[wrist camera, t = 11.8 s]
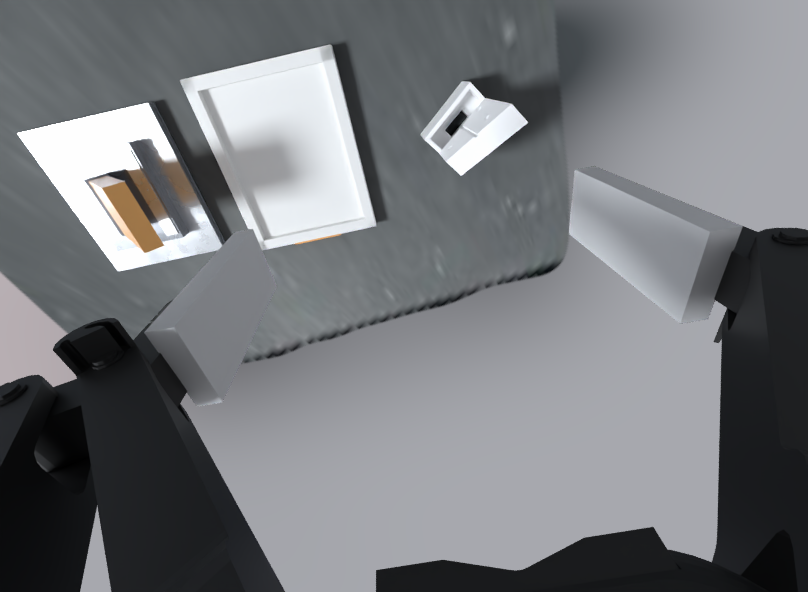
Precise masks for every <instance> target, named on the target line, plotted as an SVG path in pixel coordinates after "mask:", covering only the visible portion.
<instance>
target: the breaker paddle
mask: <svg viewBox="0 0 808 592" xmlns="http://www.w3.org/2000/svg"><path fill="white" fill-rule="evenodd" d="M84 181H85V183H86V184H87V186H88V187H89V189H90V190H91V192H92V193H93V195H94V196H95V198H96V199H97V201H98V202H99V203H100V205H101V206H102V208H103V209H104V211H105V212H106V214H107V215H108V217H109V218H110V220H111V221H112V223H113V224H114V225H115V227H116V228H117V230H118V231H119V233H120V234H121V236H126V237H127V238H128V239H129V240H131V241H132V242H133V243H134V244H135V245H136V246H137V247H138V248H139V249H140V250H142V251H143V252H144V253H147V252H150V251H152V250H155V249H157V248H160V247H162V246H164V244H163V243H162V241H161V239H160V238H159V236H158V235H157V233H156V231H155V230H154V228H153V227H152V225H151V223H150V222H149V220H148V218H147V217H146V215H145V214H144V212H143V210H142V209H141V207H140V206H139V204H138V202H137V201H136V199H135V197H134V196H133V194H132V193H131V191H130V189H129V188H128V186H127V185H126V183H125V181H122V180H119V179H116V178H113V177H109V175H108V174H107V173H106V174H101V175H97V176H94V177H90V178H87V179H85V180H84Z"/></svg>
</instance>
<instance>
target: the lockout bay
mask: <svg viewBox="0 0 808 592" xmlns="http://www.w3.org/2000/svg"><path fill="white" fill-rule="evenodd" d="M180 82H181V85H182V87H183V89H184V91H185V93H186V95H187V98H188V100H189V102H190V104H191V106H192V108H193V110H194V113H195V115H196V117H197V119H198V121H199V123H200V126H201V128H202V130H203V132H204V134H205V136H206V139H207V141H208V143H209V145H210V147H211V149H212V151H213V154H214V156H215V158H216V160H217V162H218V164H219V167H220V169H221V171H222V173H223V175H224V177H225V180H226V182H227V184H228V186H229V188H230V190H231V192H232V195H233V197H234V199H235V201H236V203H237V205H238V208H239V210H240V212H241V214H242V216H243V218H244V221H245V223H246V225H247V227H248V229H253V230H254V232H255V235H256V237H257V240H258V242H259V244H260V247H261V249H262V250H266V249H271V248H276V247H281V246H285V245H290V244H295V245H296V244H301V243H305V242H310V241H315V240H319V239H324V238H329V237H334V236H338V235H341V234H342V233H346V232H351V231H356V230H360V229H365V228H370V227H374V226H376V219H375V215H374V211H373V207H372V203H371V199H370V195H369V191H368V187H367V183H366V179H365V175H364V171H363V167H362V163H361V159H360V155H359V151H358V147H357V143H356V139H355V135H354V131H353V127H352V123H351V118H350V114H349V110H348V106H347V102H346V98H345V94H344V90H343V86H342V82H341V78H340V74H339V70H338V66H337V62H336V58H335V54H334V50H333V46H332V45H331V44H330V45H326V46H322V47H318V48H313V49H309V50H305V51H301V52H296V53H292V54H288V55H284V56H280V57H275V58H271V59H267V60H263V61H258V62H254V63H250V64H246V65H242V66H237V67H233V68H229V69H225V70H220V71H216V72H212V73H208V74H203V75H199V76H195V77H191V78H187V79H182V80H180Z"/></svg>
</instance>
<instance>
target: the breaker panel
mask: <svg viewBox="0 0 808 592" xmlns="http://www.w3.org/2000/svg"><path fill="white" fill-rule="evenodd" d="M17 134H18V135H19V136H20V138H21V139H22V140H23V142H24V143H25V145H26V146H27V147H28V149H29V150H30V151H31V153H32V154H33V156H34V157H35V158H36V160H37V161H38V162H39V164H40V165H41V166H42V168H43V169H44V171H45V172H46V173H47V175H48V176H49V177H50V179H51V180H52V182H53V183H54V184H55V186H56V187H57V188H58V190H59V191H60V193H61V194H62V195H63V197H64V198H65V199H66V201H67V202H68V203H69V205H70V206H71V208H72V209H73V210H74V212H75V213H76V214H77V216H78V217H79V219H80V220H81V221H82V223H83V224H84V225H85V227H86V228H87V230H88V231H89V232H90V234H91V235H92V236H93V238H94V239H95V240H96V242H97V243H98V245H99V246H100V247H101V249H102V250H103V251H104V253H105V254H106V256H107V257H108V258H109V260H110V261H111V262H112V264H113V265H114V267H115V268H116V269H117V271H122V270H127V269H132V268H136V267H141V266H146V265H150V264H155V263H160V262H164V261H169V260H174V259H178V258H183V257H188V256H192V255H197V254H202V253H206V252H211V251H216V250H219V249H220V248H221V247H222V246H223V244H224V243H225V240H224V238H223V236H222V234H221V232H220V230H219V228H218V226H217V224H216V222H215V220H214V218H213V216H212V214H211V212H210V210H209V208H208V206H207V204H206V203H205V201H204V199H203V197H202V195H201V193H200V191H199V189H198V187H197V185H196V183H195V181H194V179H193V177H192V175H191V173H190V171H189V169H188V167H187V165H186V163H185V161H184V160H183V158H182V156H181V154H180V152H179V150H178V148H177V146H176V144H175V142H174V140H173V138H172V136H171V134H170V132H169V130H168V128H167V126H166V124H165V122H164V120H163V118H162V117H161V115H160V113H159V111H158V109H157V107H156V105H155V103H154V102H150V103H145V104H141V105H136V106H132V107H128V108H123V109H119V110H115V111H111V112H106V113H102V114H98V115H94V116H89V117H85V118H81V119H77V120H72V121H68V122H64V123H60V124H55V125H51V126H47V127H43V128H38V129H34V130H30V131H25V132H21V133H17ZM106 173H107V174H108V175H109V177H113V178H116V179H119V180H122V181H125V183H126V185H127V186H128V188H129V189H130V191H131V193H132V194H133V196H134V197H135V199H136V201H137V202H138V204H139V206H140V207H141V209H142V210H143V212H144V214H145V215H146V217H147V218H148V220H149V222H150V223H151V225H152V227H153V228H154V230H155V231H156V233H157V235H158V236H159V238H160V239H161V241H162V243H163V244H164V246H162V247H160V248H157V249H155V250H152V251H150V252H147V253H144V252H143V251H142V250H140V249H139V248H138V247H137V246H136V245H135V244H134V243H133V242H132V241H131V240H129V239H128V238H127V237H126V236H121V234H120V233H119V231H118V230H117V228H116V227H115V225H114V224H113V223H112V221H111V220H110V218H109V217H108V215H107V214H106V212H105V211H104V209H103V208H102V206H101V205H100V203H99V202H98V201H97V199H96V198H95V196H94V195H93V193H92V192H91V190H90V189H89V187H88V186H87V184H86V183H85V181H84V180H85V179H87V178H90V177H94V176H97V175H101V174H106Z"/></svg>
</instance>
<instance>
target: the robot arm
mask: <svg viewBox="0 0 808 592" xmlns="http://www.w3.org/2000/svg"><path fill="white" fill-rule="evenodd" d="M569 234H570V235H571V236H572V237H573V238H575V239H576V240H577V241H578V242H580V243H581V244H582V245H583V246H584V247H586V248H587V249H588V250H589V251H591V252H592V253H593V254H594V255H596V256H597V257H598V258H599V259H601V260H602V261H603V262H604V263H606V264H607V265H608V266H609V267H611V268H612V269H613V270H614V271H616V272H617V273H618V274H619V275H620V276H622V277H623V278H624V279H625V280H627V281H628V282H629V283H630V284H632V285H633V286H634V287H635V288H636V289H638V290H639V291H640V292H641V293H643V294H644V295H645V296H646V297H648V298H649V299H650V300H651V301H653V302H654V303H655V304H656V305H658V306H659V307H660V308H661V309H662V310H664V311H665V312H666V313H667V314H669V315H670V316H671V317H672V318H674V319H675V320H676V321H677V322H679V323H680V324H683V323H688V322H694V321H700V320H706V319H708V318H709V315H710V312H711V310H712V307H713V304H714V302H715V300H716V301H718V302H719V303H721V304H722V305H724V306H726V307H727V310H726V312H725V315H724V318H723V320H722V322H721V325H720V327H719V330H718V332H717V335H716V337H715V340H714V342H716V343H719V342H720V340H721V339H722V354H721V356H722V357H721V358H722V359H721V397H720V441H719V483H718V526H717V527H718V528H717V544H716V549H715V553H714V557H713V561H712V562H709V561H706V560H704V559H701V558H698V557H696V556H693V555H689V554H685V553H681V552H677V551H673V550H667V548H666V547H665V545H664V544H663V542H662V541H661V539H660V537H659V536H658V534H657V533H656V531H655V529H654V527H650V528H644V529H637V530H631V531H625V532H618V533H612V534H606V535H599V536H592V537H586V538H583V539H581V540H579V541H577V542H575V543H574V544H572V545H570V546H568V547H566V548H564V549H562V550H560V551H558V552H556V553H554V554H552V555H551V556H549V557H547V558H545V559H543V560H541V561H539V562H537V563H535V564H533V565H532V566H530V567H528V568H526V569H523V570H517V571H514V570H506V569H500V568H493V567H487V566H480V565H473V564H467V563H460V562H454V561H447V560H439V561H432V562H426V563H419V564H413V565H407V566H401V567H394V568H388V569H381V570H376V592H808V230H805V229H799V228H772V229H765V230H763V231H760V232H756V231H754V230H751V229H749V228H746V227H744V226H741V225H739V224H736V223H734V222H731V221H728V220H726V219H724V218H721V217H719V216H717V215H714V214H712V213H709V212H707V211H704V210H702V209H699V208H697V207H694V206H692V205H689V204H686V203H684V202H682V201H679V200H677V199H675V198H672V197H670V196H667V195H665V194H662V193H660V192H657V191H655V190H652V189H650V188H647V187H645V186H643V185H640V184H638V183H635V182H632V181H630V180H628V179H625V178H623V177H620V176H618V175H615V174H613V173H610V172H608V171H606V170H603V169H600V168H598V167H596V166H591V167H586V168H580V169H576V170H575V174H574V185H573V195H572V206H571V216H570V227H569ZM276 287H277V285H276V283H275V280H274V278H273V276H272V273H271V271H270V268H269V266H268V264H267V261H266V259H265V256H264V254H263V252H262V249H261V247H260V244H259V242H258V240H257V237H256V235H255V232H254V230H253V229H249V230H243V231H238V232H234V233H233V234H232V236H231V237H230V238H229V239H228V240H227V241H226V242H225V243H224V244H223V246H222V247H221V248H220V249H219V250H218V251H217V252H216V253H215V254H214V255H213V257H212V258H211V259H210V260H209V261H208V262H207V263H206V264H205V265H204V267H203V268H202V269H201V270H200V271H199V272H198V273H197V274H196V275H195V277H194V278H193V279H192V280H191V281H190V282H189V283H188V284H187V285H186V286H185V288H184V289H183V290H182V291H181V292H180V293H179V294H178V295H177V296H176V298H175V299H173V300H172V301H170V302H169V303H167V304H166V305H165V306H164V307H163V309H162V310H161V311H160V312H159V313H158V315H156V316H155V317H154V318H153V319H152V321H151V323H149V324H148V325H147V326H146V327H145V328H144V329H143V330H142V331H141V333H140V334H139V335H138V336H137V337H136V338H135V339H134V340H132V338H131V337H130V336H129V334H128V333H127V332H126V330H125V329H124V328H123V326H122V325H121V324H120V322H119V321H118V320H116V319H115V318H106V319H101V320H97V321H94V322H91V323H89V324H86V325H84V326H82V327H80V328H78V329H76V330H74V331H72V332H70V333H69V334H67V335H66V336H64V337H63V338H62V339H60V340H59V341H58V342H57V343H56V344H55V346H54V348H53V351H54V352H55V353H56V354H57V355H58V356H59V357H60V358H61V359H62V361H63V362H64V363H65V364H66V365H67V366H68V367H69V368H70V369H71V370H72V371H73V372H74V374H75V375H76V376H77V379H75V380H73V381H70V382H67V383H64V384H61V385H59V386H56V387H52V386H51V385H50V384H49V383H48V382H47V381H46V380H45V379H44V378H43V377H42V376H40V375H31V376H27V377H24V378H21V379H18V380H15V381H13V382H11V383H6V384H4V385H2V386H0V592H80V589H81V584H82V579H83V573H84V569H85V564H86V559H87V554H88V548H89V544H90V538H91V533H92V528H93V523H94V518H95V513H96V508H97V505H98V512H99V518H100V524H101V530H102V535H103V542H104V549H105V555H106V561H107V566H108V573H109V579H110V585H111V591H112V592H285V591H284V589H283V587H282V585H281V584H280V582H279V580H278V578H277V576H276V574H275V573H274V571H273V569H272V567H271V565H270V563H269V562H268V560H267V558H266V556H265V554H264V552H263V551H262V549H261V547H260V545H259V543H258V541H257V540H256V538H255V536H254V534H253V532H252V531H251V529H250V527H249V525H248V523H247V521H246V520H245V518H244V516H243V514H242V512H241V511H240V509H239V507H238V505H237V503H236V501H235V500H234V498H233V496H232V494H231V492H230V491H229V489H228V487H227V485H226V483H225V481H224V480H223V478H222V476H221V474H220V472H219V470H218V469H217V467H216V465H215V463H214V461H213V459H212V458H211V456H210V454H209V452H208V451H207V449H206V447H205V445H204V443H203V441H202V440H201V438H200V436H199V434H198V432H197V430H196V428H195V427H194V425H193V423H192V421H191V419H190V418H189V416H188V414H187V412H186V411H185V409H184V408H183V407H182V405H181V404H180V403H181V401H182V399H183V398H184V396H185V394H186V393H188V395H189V396H190V397H191V399H192V400H193V402H194V403H195V404H196V406H203V405H208V404H215V403H221V402H223V400H224V398H225V396H226V394H227V391H228V390H229V387H230V385H231V383H232V381H233V379H234V377H235V375H236V373H237V370H238V368H239V366H240V364H241V362H242V360H243V358H244V355H245V353H246V351H247V349H248V347H249V345H250V343H251V340H252V338H253V336H254V334H255V332H256V330H257V328H258V326H259V323H260V321H261V319H262V317H263V315H264V313H265V311H266V308H267V306H268V304H269V302H270V300H271V298H272V296H273V293H274V291H275V289H276Z"/></svg>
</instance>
